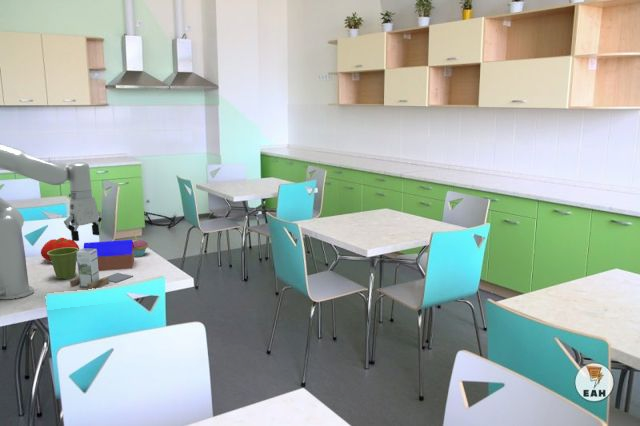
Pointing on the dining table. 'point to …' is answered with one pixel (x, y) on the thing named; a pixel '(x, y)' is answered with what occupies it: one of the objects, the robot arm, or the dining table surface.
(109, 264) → the house
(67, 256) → the plant pot
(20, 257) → the robot arm
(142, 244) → the cupcake
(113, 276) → the pad
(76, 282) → the rails
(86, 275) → the syrup box
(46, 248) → the tomato
